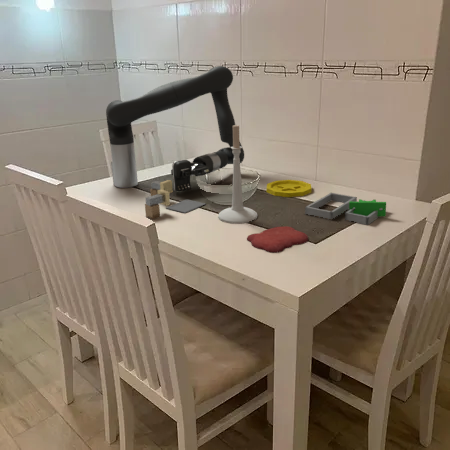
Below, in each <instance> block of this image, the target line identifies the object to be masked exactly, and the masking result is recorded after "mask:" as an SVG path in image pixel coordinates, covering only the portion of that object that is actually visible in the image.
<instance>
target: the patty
mask: <svg viewBox="0 0 450 450" xmlns="http://www.w3.org/2000/svg"><path fill="white" fill-rule="evenodd" d="M308 238H309V236H308V235H307V234H306V233H305V232H303V231H299V230H296V229H295V228H294V227H292V226H285V225H284V226H274V227H272V228H267V229H265V230H263V231H261V232H258V233H251V234H249V235H248V236H247V237H246V241H247V242H248V243H250V244H251V246H252V247H253V248H255V249H257V250H262V251H265V253H266V252H267V253H271V254H278V253H282V252H283V251H285V249H290V248H292V247H293V246H297V245H303V244H305V243H307V242H309V239H308Z"/></svg>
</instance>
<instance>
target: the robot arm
mask: <svg viewBox="0 0 450 450" xmlns="http://www.w3.org/2000/svg"><path fill="white" fill-rule="evenodd" d="M233 79H234V75H233V72H232V70H231V69H229V68H228V67H226V66H223V65H218V66H213V67H211V68H210V69H209V70H208V71H207V72H204V73H202V74H200V75H198V76H194V77H190V78H189V77H188V78H184V79H179V80H175V81H171V82H168V83H166V84H163V85H160V86H158V87H155V88H153V89H152V90H150V91H148V92H147V93H145V94H143V95H142V96H139V97H137V98H136V97H135V98H131V99H128V100H125V101H123V100H119V99H118V100H113V101H110V103H109V104H108V105H107V106H106V109H105V112H106V113H105V116H106V124H107V125H106V126H107V131H108V132H107V133H108V139H109V145H110V147H109V148H110V153H111V161H110V166H111V167H110V168H111V173H112V175H111V176H112V184H113V185H114V186H115V187H117V188H121V189H122V188H132V187H135V186H138V184H139V182H138V181H139V180H138V170H137V161H136V159H137V158H136V150H135V142H134V141H135V140H134V133H133V127H132V123H133V122H135V121H138V120H139V119H142V118H144V117H147V116H149V115H153V114H157V113H161V112H164V111H167V110H168V111H169V110H170V109H174V108H176V107H179V106H182V105H185V104H187V103H189V102H191V101H193V100H195V99H197V98H199V97H201V96H204V95H207V94H211V98H212V101H213V105H214V110H215V114H216V119H217V126H218V131H219V137H220V141H221V142H222V143H226V144H228V146H229V147H222V148H220V149H219V150H217V151H215V152H214V151H213V152H209V153H205V154H203V155H200V156H195V157H194V158H193V160H192V161H190V162H191V166H192V169H190V170H186V171H183V172H182V177H184V178H185V177H188V176H190V177H193V176H195V177H200V176H201V177H202V176H207V175H209V174H211V173H214V172H216V171H217V170H221V169H223V168H225V167H227V165H233V159H234V154H233V153H232V151H233V150H232V149H231V147H233V126H234V125H236V120H235V118H234V114H233V111H232V108H231V106H230V101H229V98H228V96H229V95H228V88H229V87H230V86H231V85H232V84H233V81H234V80H233ZM239 143H240V146H241V147H242V148H241V150H240V151H241V153H240V154H239V158H240V164H242V162H244V159H245V151H244V148H243V145H242V142H241V140H239ZM170 173H171V175H172V176H173V172H172V169H171V170H170Z"/></svg>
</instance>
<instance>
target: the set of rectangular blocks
mask: <svg viewBox="0 0 450 450" xmlns="http://www.w3.org/2000/svg"><path fill="white" fill-rule="evenodd" d="M150 186H151V188H150V189H149V191H150V196H147V197H145V204H144V210H145V217H146V218H149V219H151V220H155V219H159V218H161V210H160V209H161V208H160V205H163V206H166V207H168V206H171V200H170V199H171V198H170V194H171V193H173V191H174V188H173V179H172V180H170V179H167V180H164V181H158V180H155V181H152V182H151V183H150Z"/></svg>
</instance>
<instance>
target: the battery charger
mask: <svg viewBox="0 0 450 450" xmlns="http://www.w3.org/2000/svg"><path fill="white" fill-rule="evenodd" d="M191 162H192V161H190V160H188V159H179V160H174V161H173V162H172V165H171V166H172V168H171V170H172V172H173V175H172V183H173V191H175V192H179V193H181V192H186V191H188V190H191V189H192V184H191V176H188V177H185V178H184V177H182V172H183V171H186V170H190V169H192V166H191Z"/></svg>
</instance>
